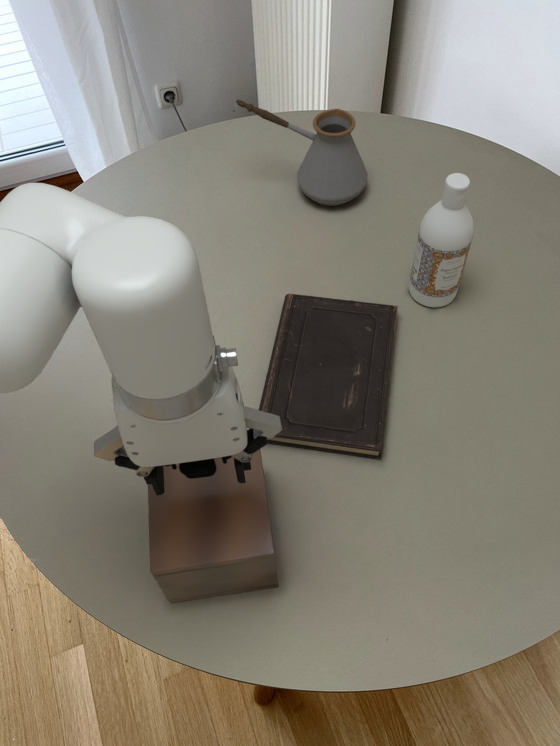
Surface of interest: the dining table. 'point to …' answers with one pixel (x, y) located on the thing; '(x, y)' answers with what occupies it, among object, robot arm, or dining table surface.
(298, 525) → the dining table surface
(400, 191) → the dining table surface
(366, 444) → the hardcover book
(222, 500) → the bronze lidded case
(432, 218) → the bath foam
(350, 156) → the coffee pot
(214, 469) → the wireless earbuds
